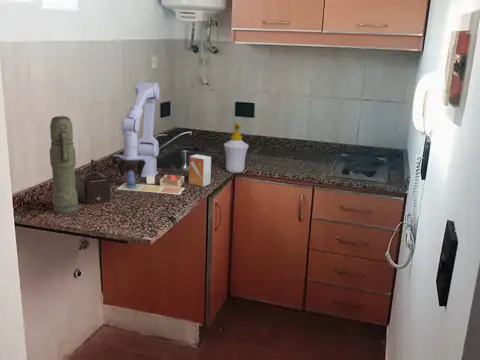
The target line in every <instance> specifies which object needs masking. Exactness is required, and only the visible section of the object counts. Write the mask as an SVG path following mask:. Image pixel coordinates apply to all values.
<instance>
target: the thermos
mask: <svg viewBox="0 0 480 360" xmlns="http://www.w3.org/2000/svg"><path fill="white" fill-rule="evenodd" d="M49 131H50V140H51V142H50V147H49V148H50V149H49V159H50V162H49V163H50V167H51V170H52V171H51V173H52V188H53V189H52V193H51V197H52V199H51V201H52V206H53V208H52V209H53V212H54V213H56V214H62V215H64V214H72V213H75V212H77V211H79V210H78V204H79V201H78V200H79V199H78V195H77V184H76V169H75V167H76V164H77V159H76V149H75V146H74V141H73V139H74V133H73V132H74V129H73V123H72V121H71V119H70V117H68V116H64V115H61V116H60V115H59V116H54V117H52V118H51V120H50V125H49Z"/></svg>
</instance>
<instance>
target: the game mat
mask: <svg viewBox="0 0 480 360" xmlns="http://www.w3.org/2000/svg"><path fill="white" fill-rule="evenodd" d="M126 184H127V182H124V183H122V184H121V185H120V186H119V187H118V188H116V190H119V191H131V192H132V191H133V192H145V193H157V194H168V195H169V194H170V195H177V196H180V195H182V193H183V192H184V190H185V189H186V187H182V186H181V187H168V186H160V185H153V184H142V183H135V184H136V188H127V187H126ZM182 191H183V192H182Z"/></svg>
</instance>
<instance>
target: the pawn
mask: <svg viewBox="0 0 480 360" xmlns="http://www.w3.org/2000/svg"><path fill="white" fill-rule="evenodd" d="M126 180H127V181H126V183H127V184H126V187H127V188H136V184H137V183H136V172H135V171H134V170H133V169H132V170H131V169H130V170H129V171H127V174H126Z"/></svg>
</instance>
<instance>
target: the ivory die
mask: <svg viewBox="0 0 480 360" xmlns="http://www.w3.org/2000/svg"><path fill="white" fill-rule="evenodd" d="M155 177H156V176H154V174H148V175H146V177H145V178H146V179H145V181H146V182H145V183H146V185H153V184H156V183H155V180H156V179H155Z"/></svg>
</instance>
